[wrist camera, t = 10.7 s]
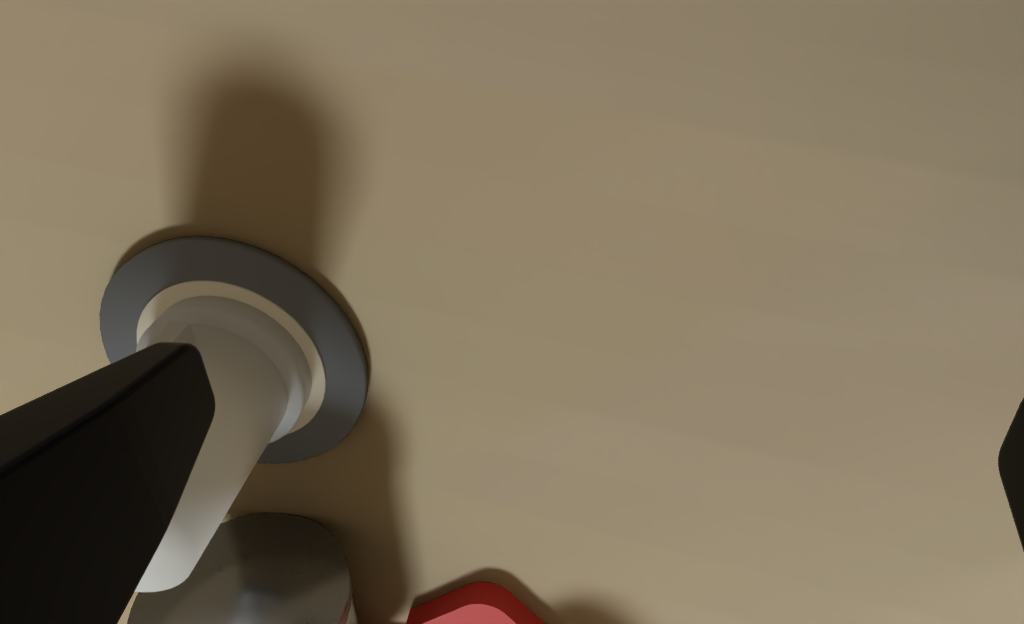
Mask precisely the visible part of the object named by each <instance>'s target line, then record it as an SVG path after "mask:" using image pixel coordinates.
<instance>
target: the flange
mask: <svg viewBox="0 0 1024 624" xmlns="http://www.w3.org/2000/svg"><path fill="white" fill-rule="evenodd" d="M196 296H220V297H226V298H230V299H234V300H237V301H241V302H244V303H246V304H248V305H251V306H253V307H255V308H257V309H259V310H261V311H262V312H264V313H266V314H267V315H269V316H270V317H272V318H273V319H275V320H276V321H277V322H278V323H279V324H281V325H282V326H283V327H284V328H285V329H286V330H287V331H288V332H289V333H290V334H291V335H292V336H293V338H294V339H295V340H296V342H297V343H298V344H299V346H300V347H301V349H302V351H303V352H304V354H305V357H306V359H307V361H308V364H309V368H310V372H311V379H312V381H311V392H310V396H309V398H308V401H307V403H306V405H305V406H304V408H303V410H302V412H301V413H300V415H299V417H298V419H297V420H296V422H295V424H294V425H293V427H292V428H291V429H290V430H289V431H288V432H287V434H285V435H284V436H283V437H281V438H280V439H278V440H276V441H274V442H272V443H269V444H267V446H266V448H265V450H264V451H263V453H262V455H261V456H260V458H259V460H258V461H257V463H276V464H277V463H289V462H295V461H300V460H305V459H308V458H311V457H314V456H317V455H319V454H321V453H323V452H325V451H327V450H329V449H331V448H332V447H334V446H335V445H336V444H338V443H339V442H340V441H341V440H342V439H343V438H344V437H345V436H346V435H347V434H348V433H349V432H350V430H351V429H352V427H353V426H354V425H355V423H356V421H357V419H358V417H359V415H360V412H361V410H362V408H363V406H364V403H365V399H366V395H367V388H368V371H367V363H366V359H365V355H364V351H363V348H362V345H361V343H360V340H359V338H358V335H357V333H356V332H355V330H354V328H353V326H352V324H351V323H350V321H349V319H348V318H347V316H346V315H345V314H344V312H343V311H342V310H341V308H340V307H339V305H338V304H337V303H336V302H335V301H334V300H333V299H332V298H331V297H330V296H329V294H328V293H327V292H326V291H325V290H324V289H322V288H321V287H320V286H319V285H318V284H317V283H316V282H315V281H313V280H312V279H311V278H310V277H308V276H307V275H306V274H304V273H303V272H301V271H300V270H299V269H297V268H296V267H294V266H293V265H291V264H289V263H287V262H286V261H284V260H282V259H281V258H279V257H277V256H275V255H273V254H270V253H268V252H266V251H264V250H261V249H259V248H256V247H253V246H250V245H247V244H244V243H241V242H237V241H232V240H227V239H223V238H214V237H203V236H202V237H182V238H176V239H170V240H166V241H163V242H160V243H157V244H154V245H152V246H150V247H148V248H146V249H144V250H142V251H140V252H139V253H138V254H136V255H135V256H134V257H133V258H131V259H130V260H129V261H127V262H126V263H125V264H124V265H123V266H122V267H121V268H120V269H119V270H118V271H117V272H116V273H115V275H114V276H113V277H112V279H111V280H110V282H109V284H108V286H107V287H106V290H105V293H104V295H103V298H102V302H101V309H100V330H101V336H102V341H103V345H104V348H105V351H106V354H107V357H108V359H109V361H110V363H111V364H112V363H114V362H116V361H118V360H121V359H123V358H125V357H127V356H129V355H131V354H133V353H136V348H137V344H138V342H139V339H140V338H141V336H142V334H143V333H144V331H145V330H146V329H147V328H148V327H149V326H150V325H151V324H152V323H153V322H154V321H155V320H156V319H157V318H158V317H159V316H160V315H161V314H162V313H163V312H164V311H165V310H166V309H167V308H168V307H170V306H171V305H173V304H174V303H176V302H178V301H181V300H183V299H187V298H190V297H196Z"/></svg>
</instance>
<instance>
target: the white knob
mask: <svg viewBox="0 0 1024 624" xmlns="http://www.w3.org/2000/svg"><path fill="white" fill-rule="evenodd" d="M158 342H177V343H190V344H192V345H194V346H196V347H197V349H198V350H199V351H200V353H201V356H202V359H203V362H204V365H205V368H206V372H207V375H208V378H209V381H210V384H211V387H212V390H213V393H214V397H215V414H214V418H213V421H212V423H211V426H210V428H209V431H208V433H207V436H206V438H205V440H204V443H203V445H202V448H201V450H200V453H199V455H198V457H197V460H196V462H195V465H194V467H193V470H192V472H191V474H190V477H189V479H188V482H187V484H186V487H185V489H184V492H183V494H182V496H181V499H180V501H179V504H178V506H177V509H176V511H175V513H174V515H173V518H172V520H171V522H170V524H169V527H168V529H167V531H166V533H165V535H164V537H163V539H162V541H161V543H160V545H159V547H158V549H157V551H156V552H155V554H154V556H153V558H152V560H151V562H150V564H149V565H148V567H147V569H146V571H145V573H144V575H143V577H142V578H141V580H140V582H139V584H138V586H137V588H136V590H135V591H134V592H157V591H163V590H167V589H171V588H173V587H175V586H178V585H179V584H181V583H182V582H184V581H185V580H186V579H187V578H188V577H189V575H190V574H191V572H192V570H193V569H194V567H195V565H196V564H197V562H198V560H199V559H200V557H201V555H202V554H203V552H204V550H205V548H206V547H207V545H208V543H209V542H210V540H211V538H212V537H213V535H214V533H215V532H216V530H217V528H218V527H219V525H220V523H221V522H222V520H223V518H224V517H225V515H226V513H227V512H228V510H229V508H230V507H231V505H232V503H233V502H234V500H235V498H236V496H237V495H238V493H239V491H240V490H241V488H242V486H243V485H244V483H245V481H246V480H247V478H248V476H249V475H250V473H251V471H252V470H253V468H254V466H255V465H256V463H257V461H258V460H259V458H260V456H261V455H262V453H263V451H264V450H265V448H266V446H267V444H269V443H272V442H274V441H276V440H278V439H280V438H281V437H283V436H284V435H285V434H287V432H288V431H289V430H290V429H291V428H292V427H293V425H294V424H295V422H296V420H297V419H298V417H299V415H300V413H301V412H302V410H303V408H304V406H305V405H306V403H307V401H308V398H309V396H310V392H311V381H312V379H311V372H310V368H309V364H308V361H307V359H306V357H305V354H304V352H303V351H302V349H301V347H300V346H299V344H298V343H297V342H296V340H295V339H294V338H293V336H292V335H291V334H290V333H289V332H288V331H287V330H286V329H285V328H284V327H283V326H282V325H281V324H279V323H278V322H277V321H276V320H275V319H273V318H272V317H270V316H269V315H267V314H266V313H264V312H262V311H261V310H259V309H257V308H255V307H253V306H251V305H248V304H246V303H244V302H241V301H237V300H234V299H230V298H226V297H220V296H196V297H190V298H187V299H183V300H181V301H178V302H176V303H174V304H173V305H171V306H170V307H168V308H167V309H166V310H165V311H164V312H163V313H162V314H161V315H160V316H159V317H158V318H157V319H156V320H155V321H154V322H153V323H152V324H151V325H150V326H149V327H148V328H147V329H146V330H145V331H144V333H143V334H142V336H141V338H140V339H139V342H138V344H137V348H136V352H138V351H140V350H142V349H144V348H146V347H148V346H151V345H153V344H155V343H158Z"/></svg>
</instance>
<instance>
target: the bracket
mask: <svg viewBox="0 0 1024 624" xmlns="http://www.w3.org/2000/svg"><path fill="white" fill-rule="evenodd" d="M406 624H545V623H544V622H542V621H541V620H540V619H539V618H538V617H537V616H536V615H535V614H533V613H532V612H531V611H530V610H529V609H528V608H527V607H525V606H524V605H523V604H522V603H521V602H520V601H519V600H518V599H516V598H515V597H514V596H513V595H512V594H511V593H510V592H509V591H507V590H506V589H505V588H503V587H501V586H499V585H496V584H493V583H489V582H475V583H471V584H469V585H466V586H464V587H462V588H459V589H457V590H455V591H452V592H450V593H448V594H446V595H443V596H441V597H439V598H436V599H434V600H432V601H429V602H427V603H425V604H422V605H420V606H418V607H415V608H413V609H411V610H410V612H409V615H408V619H407V622H406Z"/></svg>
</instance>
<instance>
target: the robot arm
mask: <svg viewBox="0 0 1024 624" xmlns="http://www.w3.org/2000/svg"><path fill="white" fill-rule="evenodd" d="M214 414H215V397H214V393H213V390H212V387H211V384H210V381H209V378H208V375H207V372H206V368H205V365H204V362H203V359H202V356H201V353H200V351H199V350H198V349H197V347H196V346H194V345H192V344H190V343H177V342H158V343H155V344H153V345H151V346H148V347H146V348H144V349H142V350H140V351H138V352H136V353H133V354H131V355H129V356H127V357H125V358H123V359H121V360H118V361H116V362H114V363H112V364H110V365H108V366H105V367H103V368H101V369H99V370H97V371H95V372H93V373H90V374H88V375H86V376H84V377H82V378H80V379H78V380H75V381H73V382H71V383H69V384H67V385H65V386H62V387H60V388H58V389H56V390H54V391H52V392H50V393H47V394H45V395H43V396H41V397H39V398H37V399H35V400H32V401H30V402H28V403H26V404H24V405H22V406H19V407H17V408H15V409H13V410H11V411H9V412H7V413H4V414H2V415H0V624H117V623H118V621H119V619H120V617H121V615H122V614H123V612H124V610H125V608H126V606H127V604H128V602H129V601H130V599H131V597H132V595H133V593H134V591H135V590H136V588H137V586H138V584H139V582H140V580H141V578H142V577H143V575H144V573H145V571H146V569H147V567H148V565H149V564H150V562H151V560H152V558H153V556H154V554H155V552H156V551H157V549H158V547H159V545H160V543H161V541H162V539H163V537H164V535H165V533H166V531H167V529H168V527H169V524H170V522H171V520H172V518H173V515H174V513H175V511H176V509H177V506H178V504H179V501H180V499H181V496H182V494H183V492H184V489H185V487H186V484H187V482H188V479H189V477H190V474H191V472H192V470H193V467H194V465H195V462H196V460H197V457H198V455H199V453H200V450H201V448H202V445H203V443H204V440H205V438H206V436H207V433H208V431H209V428H210V426H211V423H212V421H213V418H214ZM998 466H999V473H1000V477H1001V480H1002V483H1003V486H1004V489H1005V493H1006V496H1007V499H1008V502H1009V506H1010V509H1011V512H1012V515H1013V518H1014V522H1015V525H1016V528H1017V531H1018V535H1019V538H1020V541H1021V544H1022V547H1023V551H1024V398H1023V400H1022V402H1021V403H1020V405H1019V408H1018V410H1017V412H1016V414H1015V417H1014V419H1013V421H1012V423H1011V426H1010V428H1009V430H1008V432H1007V435H1006V437H1005V439H1004V441H1003V444H1002V446H1001V449H1000V452H999V457H998Z"/></svg>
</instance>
